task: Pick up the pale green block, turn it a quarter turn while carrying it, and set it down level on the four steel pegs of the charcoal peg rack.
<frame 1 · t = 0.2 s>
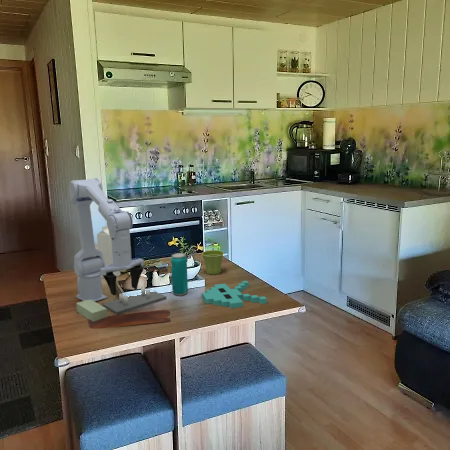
hand: (124, 291, 145), 10 cm above the table, tool pointing down, fingers open, 7 cm apart
pale green block: (92, 315, 152), on the table, touching wooden tablet
wooden tablet: (129, 322, 148), on the table, touching pale green block
peg rack: (135, 302, 162), on the table
alien figure: (230, 298, 166), on the table
beverage can: (180, 293, 170), on the table
milk: (110, 276, 191), on the table
plant pot: (213, 273, 194), on the table
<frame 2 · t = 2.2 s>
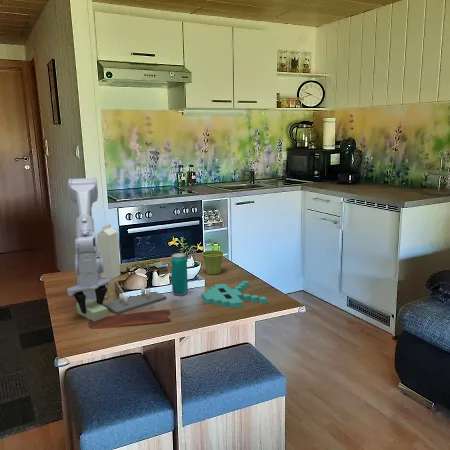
hand: (91, 310, 152), 2 cm above the table, tool pointing down, fingers closed on pale green block, 5 cm apart
pale green block: (92, 315, 152), on the table, touching gripper
wooden tablet: (130, 322, 148), on the table
everything else where it was.
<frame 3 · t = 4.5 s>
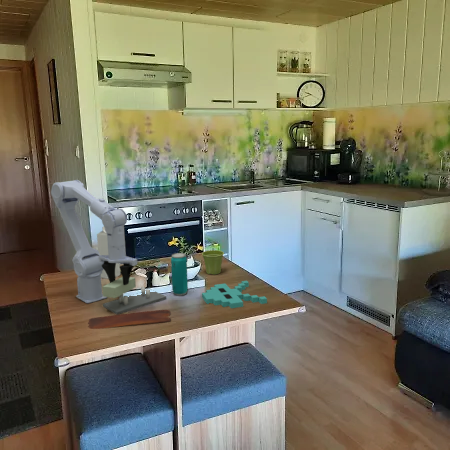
hand: (119, 283, 156), 9 cm above the table, tool pointing down, fingers closed on pale green block, 5 cm apart
pale green block: (119, 291, 157), point 6 cm above the table, touching gripper
everything else where it was.
when the fingers open (7 cm above the table, at t = 6.2 s): pale green block stays where it is, resting on peg rack.
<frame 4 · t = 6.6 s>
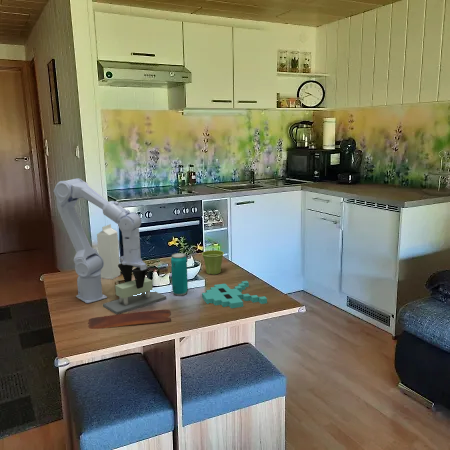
hand: (134, 285, 160), 7 cm above the table, tool pointing down, fingers open, 7 cm apart
pale green block: (134, 292, 161), point 4 cm above the table, touching peg rack
everything else where it was.
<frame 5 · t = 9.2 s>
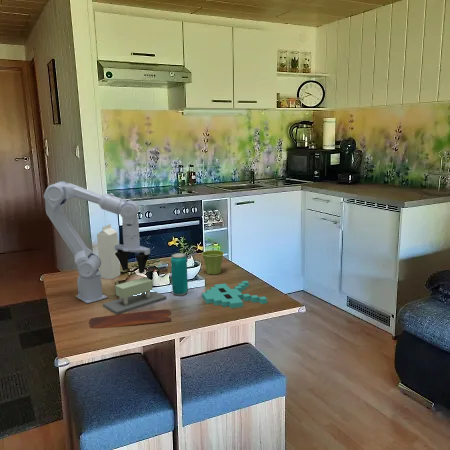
hand: (133, 271, 165), 10 cm above the table, tool pointing down, fingers open, 7 cm apart
nothing on the table moved.
at the end: pale green block 0.0 cm off-centre on the peg rack, point 4.0 cm above the peg rack's base; pale green block tilted 0°; pale green block touching peg rack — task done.
